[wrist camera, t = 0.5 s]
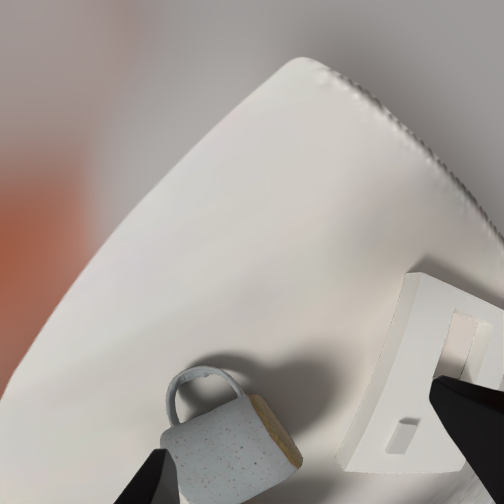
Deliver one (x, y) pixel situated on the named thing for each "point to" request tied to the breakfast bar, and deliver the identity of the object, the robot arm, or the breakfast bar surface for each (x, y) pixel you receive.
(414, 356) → the socket plate
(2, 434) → the breakfast bar surface
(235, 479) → the ceramic mug
